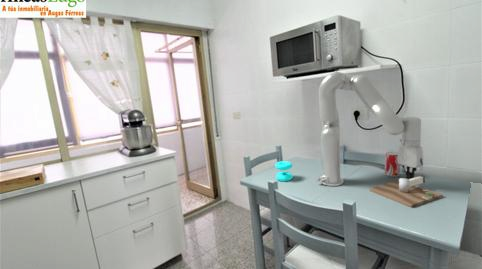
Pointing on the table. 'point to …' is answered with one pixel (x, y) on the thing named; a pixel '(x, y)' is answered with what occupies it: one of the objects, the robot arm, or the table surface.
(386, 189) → the brown wooden cutting board
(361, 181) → the table surface
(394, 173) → the soda can
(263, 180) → the table surface
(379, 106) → the robot arm
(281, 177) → the donuts
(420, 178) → the white elongated piece
